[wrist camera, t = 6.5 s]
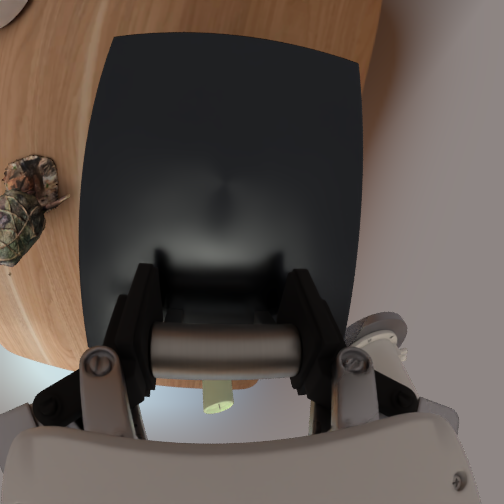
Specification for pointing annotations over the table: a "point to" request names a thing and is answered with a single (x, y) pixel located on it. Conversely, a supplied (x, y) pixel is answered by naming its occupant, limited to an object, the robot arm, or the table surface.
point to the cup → (10, 10)
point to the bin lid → (220, 195)
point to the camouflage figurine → (26, 205)
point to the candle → (217, 395)
